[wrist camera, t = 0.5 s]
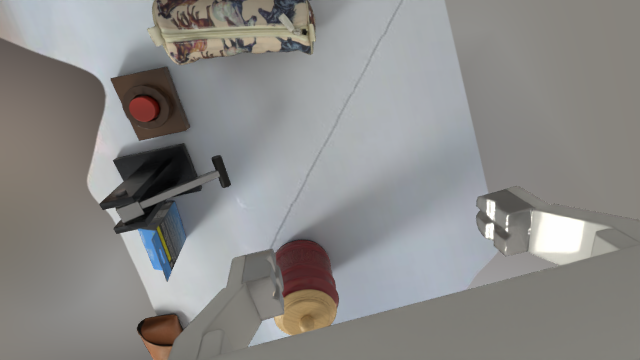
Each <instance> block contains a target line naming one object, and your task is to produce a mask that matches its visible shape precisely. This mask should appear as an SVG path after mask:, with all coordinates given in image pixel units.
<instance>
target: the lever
mask: <svg viewBox="0 0 640 360" xmlns="http://www.w3.org/2000/svg"><path fill="white" fill-rule="evenodd" d="M212 162H213V164H214V167H215V170H214V171H211V172H209V173H206V174H204V175H201V176H199V177H196V178H194V179H191V180H189V181H186V182H184V183H181V184H179V185H176V186H174V187H171V188H169V189H167V190H164V191H162V192H159V193H157V194H154V195H152V196H149V197H147V198H144V199H142V200H139V201H138V200H137V201H136V202H135V203H132V204H127V205H123V206H118V207H115V208H116V211H117V213H118V214H119V216H120V218H121V220H122V222H123V223H124V222H127V221H129V220H131V219H134V218H136V217H138V216H141V215H143V214H144V212H143V210H142V209H144V208H146V207H148V206H151V205H153V204H156V203H158V202H160V201H163V200H165V199H168V198H170V197H172V196H175V195H177V194H180V193H182V192H184V191H187V190H189V189H192V188H194V187H196V186H199V185H201V184H204V183H206V182H208V181H211V180H213V179H216V178H219V181H220V183H221V186H222V188H226V187H229V186H230V185H231V183H230V180H229V177H228V174H227V171H226V168H225V166H224V163H223V160H222V157H221V155H217V156H214V157H212Z"/></svg>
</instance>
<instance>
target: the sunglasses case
mask: <svg viewBox="0 0 640 360" xmlns="http://www.w3.org/2000/svg"><path fill="white" fill-rule="evenodd" d="M137 331H138V334H139V335H140V336H141V338H142V340H143V342H144V344H145V346H146V348H147V349H148V351H149V353H150V354H151V356H152V358H153V359H154V360H168V357H169V354H170V352H171V349H172V346H173V343H174V340H175V339H176V338H177V337H178V336H179V335H180V334H181V332H182V331H183V329H182V327H181V324H180V321H179V319H178V317H177V315H174V314H171V315H161V316H155V317H150V318H145V319H144V320H142V321H141V322H140V323H139V324H138V327H137Z"/></svg>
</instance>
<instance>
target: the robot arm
mask: <svg viewBox="0 0 640 360" xmlns="http://www.w3.org/2000/svg"><path fill="white" fill-rule="evenodd" d="M476 206H477V207H478V208H479V209H480V211H479V212H478V214H477V215H476V223H477V226H478V229H479V231H480V232H481V234H482V235H483V236H484V237H485V238H486V239H489V240H492V241H494V246H495V247H496V248H497V249H498V250H499V251H500V252H501V253H502V254H503V255H504V256H510V255H514V254H519V253H523V252H527V251H528V252H529V253H531V254H533V255H536V256H538V257H540V258H543V259H545V260H548V261H550V262H552V263H555V264H557V265H559V266H555V267H552V268H548V269H544V270H540V271H537V272H532V273H529V274H525V275H521V276H518V277H514V278H510V279H506V280H502V281H498V282H495V283H491V284H487V285H483V286H479V287H476V288H471V289H468V290H464V291H460V292H456V293H453V294H449V295H445V296H441V297H437V298H434V299H430V300H426V301H422V302H418V303H414V304H411V305H407V306H403V307H399V308H395V309H392V310H388V311H384V312H380V313H376V314H373V315H369V316H365V317H361V318H357V319H353V320H350V321H346V322H342V323H338V324H334V325H331V326H327V327H323V328H319V329H315V330H311V331H308V332H304V333H300V334H296V335H292V336H289V337H285V338H281V339H277V340H273V341H270V342H266V343H262V344H258V345H254V346H250V347H248V345H249V344H250V342H251V340H252V338H253V337H254V335H255V333H256V331H257V330H258V328H259V326H260V324H261V322H262V320H266V319H269V318H273V317H276V316H280V315H283V314H284V298H283V295H282V293H283V291H284V284H283V278H282V274H281V270H280V267H279V266H278V265H276V256H275V253H274V250H273V249H268V250H264V251H260V252H255V253H251V254H247V255H243V256H239V257H235V258H233V260H232V263H231V268H230V273H229V277H228V282H227V287H226V288H224V289H222V290H221V291H220V292H219V293H218V294H217V295H216V296H215V297H214V298H213V299H212V301H211V302H210V303H209V304H208V305H207V306H206V307H205V308H204V309H203V310H202V311H201V312H200V313H199V314H198V315H197V316H196V318H195V319H194V320H193V321H192V322H191V323H190V324H189V325H188V326H187V327H186V328H185V329H184V330H183V331H182V332H181V334H180V335H179V336H178V337H177V338H176V339H175V340H174V343H173V346H172V349H171V352H170V354H169V357H168V360H640V220H637V219H632V218H627V217H622V216H616V215H611V214H606V213H601V212H596V211H590V210H585V209H580V208H575V207H569V206H563V205H559V204H551V205H550V204H548V203H547V202H545V201H543V200H541V199H540V198H538V197H536V196H535V195H533V194H531V193H530V192H528V191H526V190H525V189H523V188H521V187H518V186H514V187H510V188H507V189H504V190H501V191H497V192H494V193H490V194H486V195H482V196H479V197H478V198H477V201H476Z"/></svg>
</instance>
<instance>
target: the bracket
mask: <svg viewBox="0 0 640 360" xmlns="http://www.w3.org/2000/svg"><path fill="white" fill-rule="evenodd" d="M113 162H114V164H115V165H116V167H117V169H118V171H119V173H120V175H121V177H122V179H123V181H124V182H123V183H122V184H120V185H119V186H118V187H117V188H116V189H115V190H114V191H113V192H112V193H111V194H110V195H108V196H107V197H106V198H105V199H104V200H103V201H102V202H101V203H100V206H101V208H102V209H103V210H105V209H109V208H114V207H118V206H123V205H127V204H132V203H135V202H136V201H137V200H138V201H139V200H142V199H144V198H147V197H149V196H152V195H154V194H157V193H159V192H162V191H164V190H167V189H169V188H171V187H174V186H176V185H179V184H181V183H184V182H186V181H189V180H191V179H194V178H196V177H198V176H197V174H196V171H195V169H194V166H193V164H192V161H191V159H190V156H189V154H188V151H187V149H186V146H185V144H184V143H183V144H179V145H174V146H170V147H165V148H160V149H156V150H151V151H147V152H142V153H138V154H133V155H128V156H124V157H119V158H116V159H114V160H113ZM201 189H202V186H201V185H199V186H196V187H194V188H192V189H189V190H187V191H184V192H182V193H180V194H177V195H175V196H179V195H184V194H188V193H193V192H197V191H201ZM175 196H172V197H175ZM166 200H167V199H165V200H163V201H160V202H158V203H156V204H153V205H151V206H148V207H146V208H144V209H142V210H143V212H144V214H143V215H141V216H138V217H136V218H134V219H131V220H129V221H127V222H124V223H123V222H122V220H120V221H119V223H118V224H117V225H116V226H115V227H114V230H115V232H116V234H119V233H123V232H127V231H132V230H136V229H141V228H145V227H148V225H149V224H150V223H151V221H152V220H153V218H154V217H155V215H156V214H157V212H158V211H159V210H160V208H161V207H162V205H163V204H164V202H165V201H166Z"/></svg>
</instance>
